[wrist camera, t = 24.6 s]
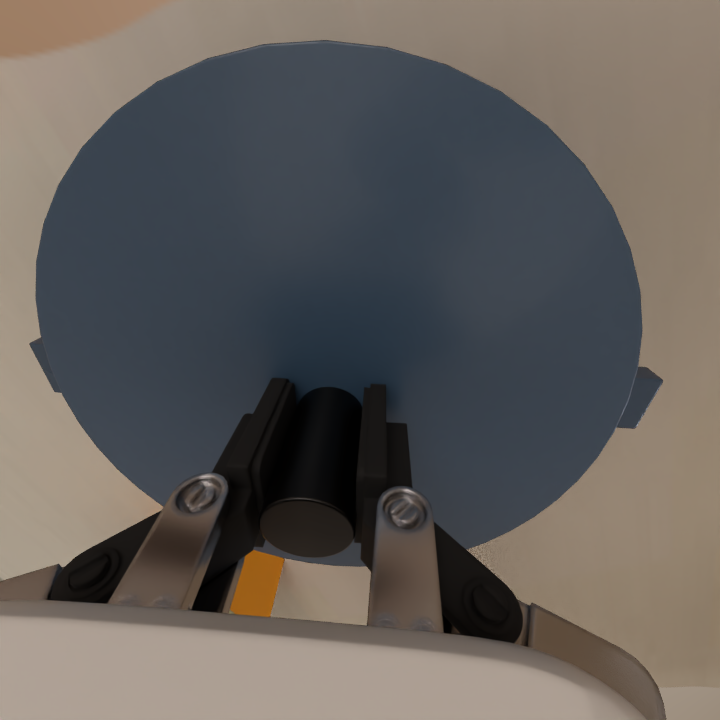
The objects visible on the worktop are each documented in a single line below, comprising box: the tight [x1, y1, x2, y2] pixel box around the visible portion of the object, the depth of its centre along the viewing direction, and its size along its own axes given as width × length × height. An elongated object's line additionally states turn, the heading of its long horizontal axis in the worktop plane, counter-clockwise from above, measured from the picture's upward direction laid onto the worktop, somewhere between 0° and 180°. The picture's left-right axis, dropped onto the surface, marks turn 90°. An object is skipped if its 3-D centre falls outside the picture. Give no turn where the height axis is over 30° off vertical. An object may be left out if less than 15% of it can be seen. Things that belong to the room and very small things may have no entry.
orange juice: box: [229, 550, 284, 617], centre depth 21 cm, size 8×9×20 cm
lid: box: [36, 40, 642, 567], centre depth 11 cm, size 20×20×6 cm
